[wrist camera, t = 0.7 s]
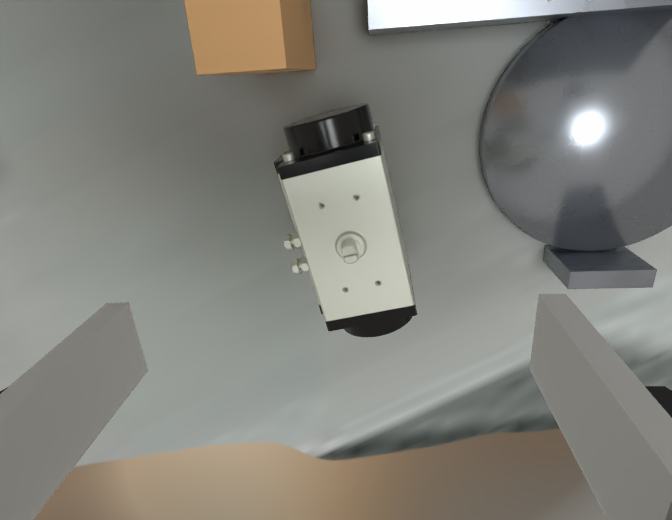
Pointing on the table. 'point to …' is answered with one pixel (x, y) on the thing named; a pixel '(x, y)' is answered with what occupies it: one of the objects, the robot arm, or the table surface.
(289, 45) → the tan rectangular block
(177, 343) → the table surface
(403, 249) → the pneumatic valve
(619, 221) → the grey disc
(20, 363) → the table surface
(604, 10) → the grey rectangular frame
